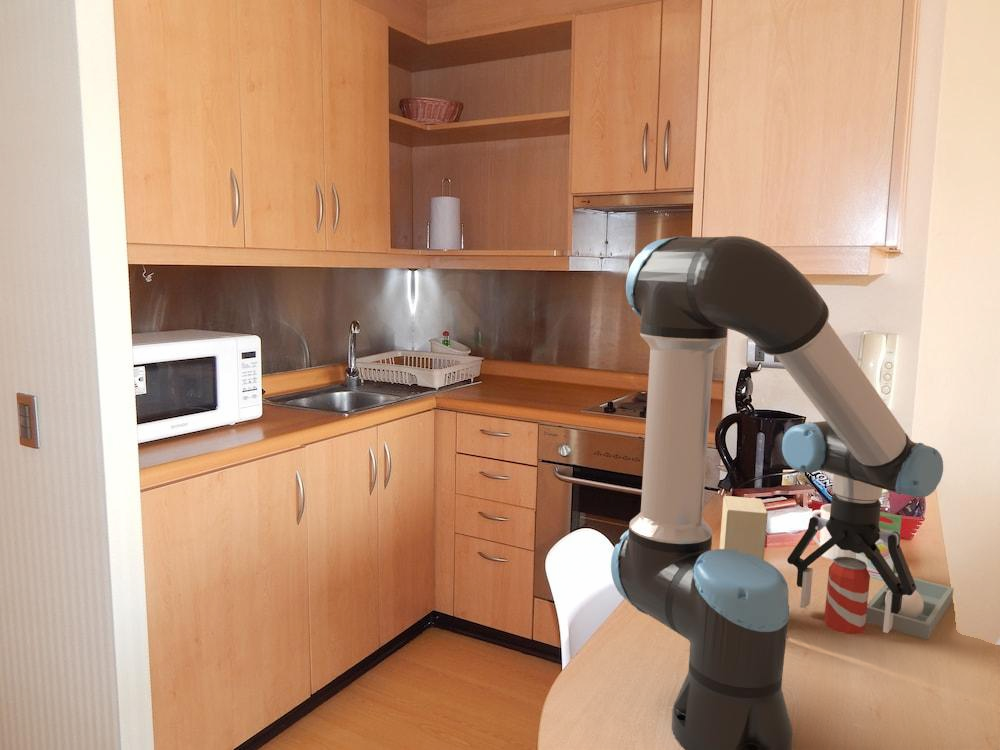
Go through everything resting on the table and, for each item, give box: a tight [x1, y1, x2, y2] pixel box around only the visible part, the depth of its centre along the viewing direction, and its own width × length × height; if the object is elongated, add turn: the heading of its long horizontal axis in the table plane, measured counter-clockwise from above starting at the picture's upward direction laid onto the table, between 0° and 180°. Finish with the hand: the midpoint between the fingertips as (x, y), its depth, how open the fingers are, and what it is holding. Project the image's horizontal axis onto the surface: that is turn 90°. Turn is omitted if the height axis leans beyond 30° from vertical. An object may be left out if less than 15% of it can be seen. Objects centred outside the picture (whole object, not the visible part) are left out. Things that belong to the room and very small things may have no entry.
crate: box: [865, 573, 955, 640], centre depth 139 cm, size 20×10×3 cm, turn 140°
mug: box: [809, 503, 856, 562], centre depth 166 cm, size 11×9×10 cm
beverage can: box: [823, 557, 871, 635], centre depth 133 cm, size 6×6×12 cm
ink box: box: [856, 511, 903, 582], centre depth 154 cm, size 7×4×13 cm, turn 50°
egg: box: [885, 590, 924, 619], centre depth 135 cm, size 6×6×6 cm
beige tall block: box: [718, 495, 768, 560], centre depth 134 cm, size 8×7×21 cm
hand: (844, 617), depth 133 cm, fingers open, 13 cm apart
